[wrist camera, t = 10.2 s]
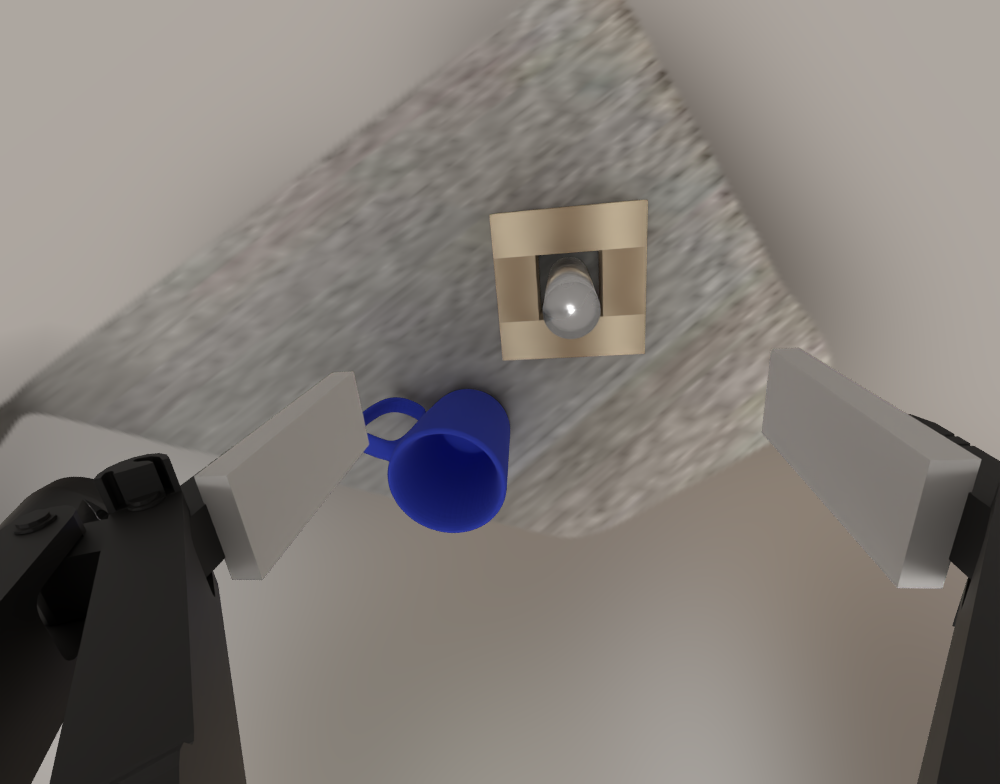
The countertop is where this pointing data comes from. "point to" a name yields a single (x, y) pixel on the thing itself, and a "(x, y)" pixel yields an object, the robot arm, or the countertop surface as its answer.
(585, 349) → the hole block
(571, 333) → the peg
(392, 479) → the mug
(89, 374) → the countertop surface
